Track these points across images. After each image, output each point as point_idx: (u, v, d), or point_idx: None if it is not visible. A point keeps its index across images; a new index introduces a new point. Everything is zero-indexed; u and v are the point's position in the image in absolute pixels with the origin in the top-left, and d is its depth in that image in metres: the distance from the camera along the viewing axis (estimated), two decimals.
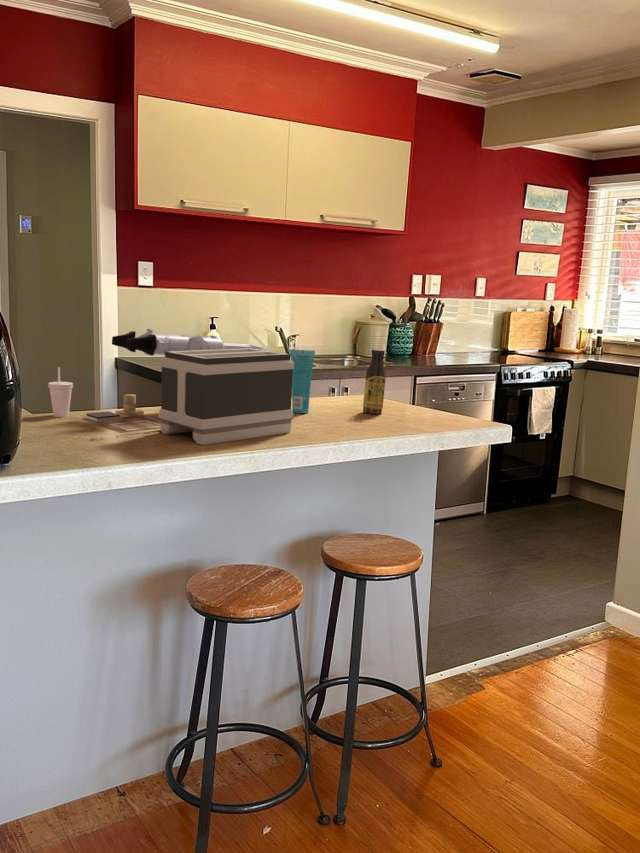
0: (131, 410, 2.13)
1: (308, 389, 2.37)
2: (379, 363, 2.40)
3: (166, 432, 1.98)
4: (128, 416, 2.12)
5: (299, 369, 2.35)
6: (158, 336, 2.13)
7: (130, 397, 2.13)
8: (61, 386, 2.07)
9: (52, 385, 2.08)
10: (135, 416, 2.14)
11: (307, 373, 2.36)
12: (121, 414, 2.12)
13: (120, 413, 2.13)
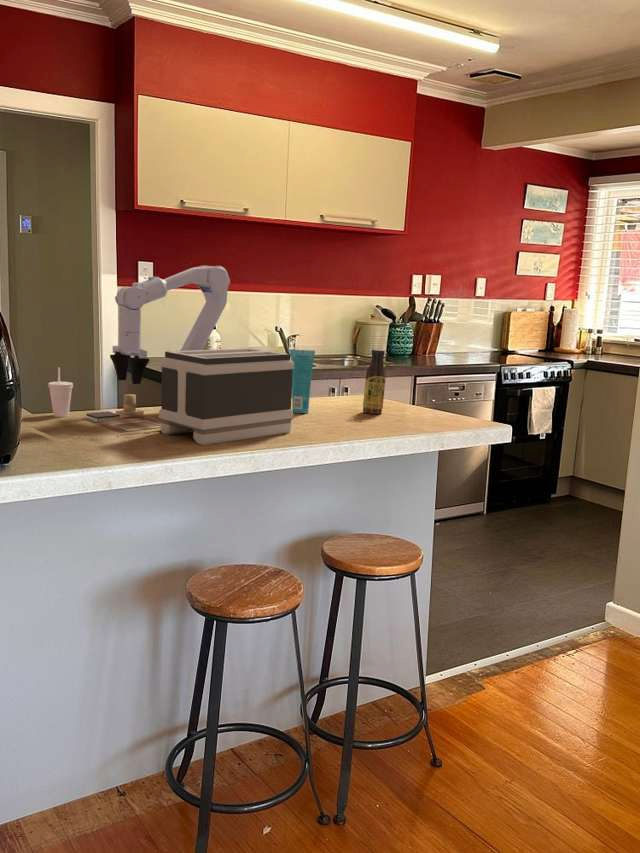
0: (131, 410, 2.13)
1: (308, 389, 2.37)
2: (379, 363, 2.40)
3: (166, 432, 1.98)
4: (128, 416, 2.12)
5: (299, 369, 2.35)
6: (125, 344, 2.09)
7: (130, 397, 2.13)
8: (61, 386, 2.07)
9: (52, 385, 2.07)
10: (135, 416, 2.14)
11: (307, 373, 2.36)
12: (121, 414, 2.12)
13: (120, 413, 2.13)
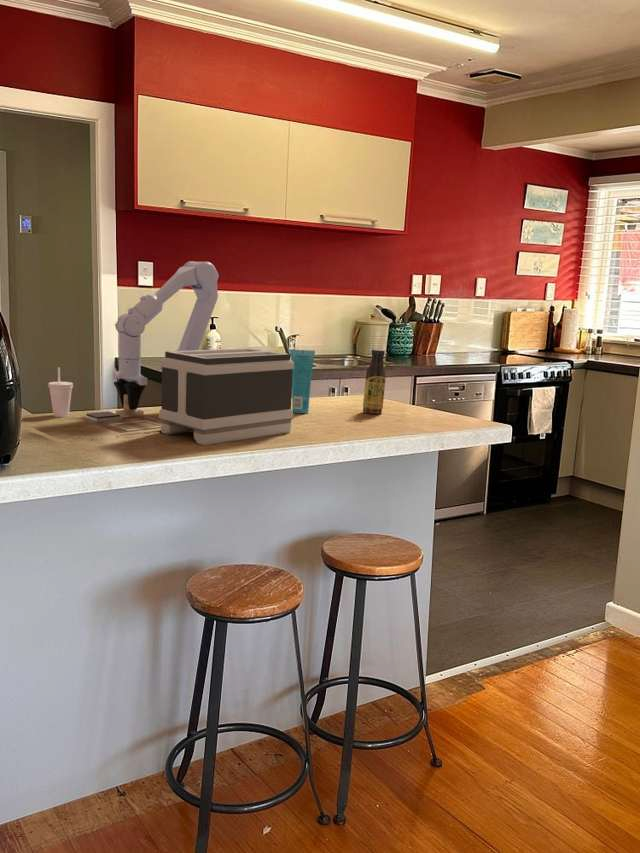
0: (131, 410, 2.13)
1: (308, 389, 2.37)
2: (379, 363, 2.40)
3: (166, 432, 1.98)
4: (128, 416, 2.12)
5: (299, 369, 2.35)
6: (126, 371, 2.10)
7: None
8: (61, 386, 2.07)
9: (52, 385, 2.07)
10: (135, 416, 2.14)
11: (307, 373, 2.36)
12: (121, 414, 2.12)
13: (120, 413, 2.13)
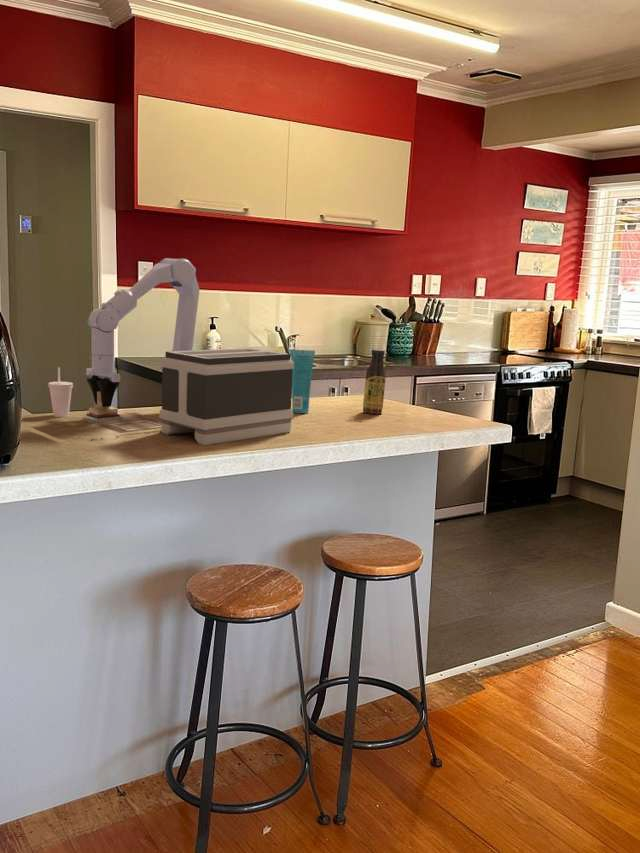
0: (105, 407, 2.08)
1: (308, 389, 2.37)
2: (379, 363, 2.40)
3: (167, 432, 1.97)
4: (102, 414, 2.07)
5: (299, 369, 2.35)
6: (98, 367, 2.04)
7: None
8: (61, 386, 2.07)
9: (52, 385, 2.07)
10: (109, 413, 2.08)
11: (307, 373, 2.36)
12: (94, 411, 2.07)
13: (93, 410, 2.07)
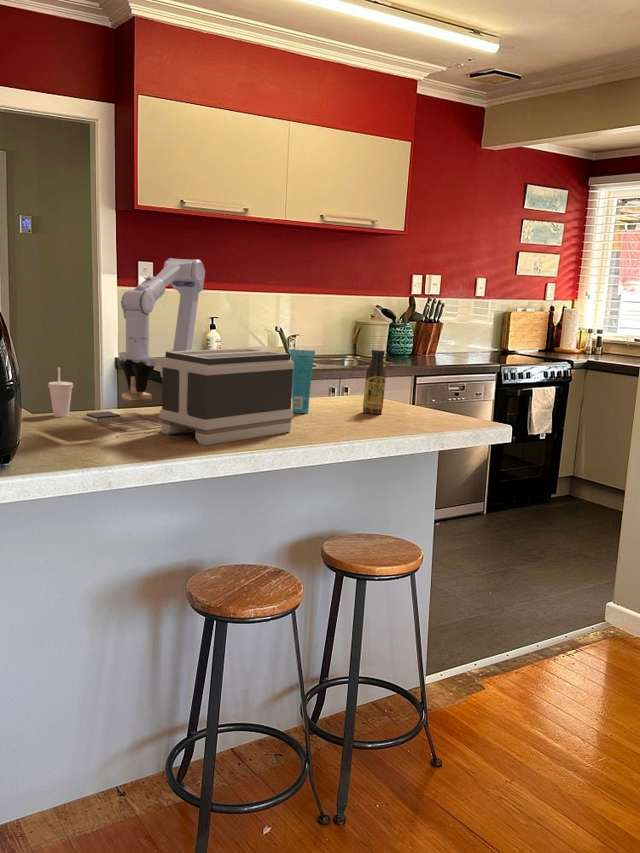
0: (138, 393, 2.00)
1: (308, 389, 2.37)
2: (379, 363, 2.40)
3: (167, 432, 1.97)
4: (135, 399, 1.99)
5: (299, 369, 2.35)
6: (133, 350, 1.97)
7: None
8: (61, 386, 2.07)
9: (52, 385, 2.07)
10: (143, 399, 2.01)
11: (307, 373, 2.36)
12: (128, 397, 1.99)
13: (127, 396, 2.00)
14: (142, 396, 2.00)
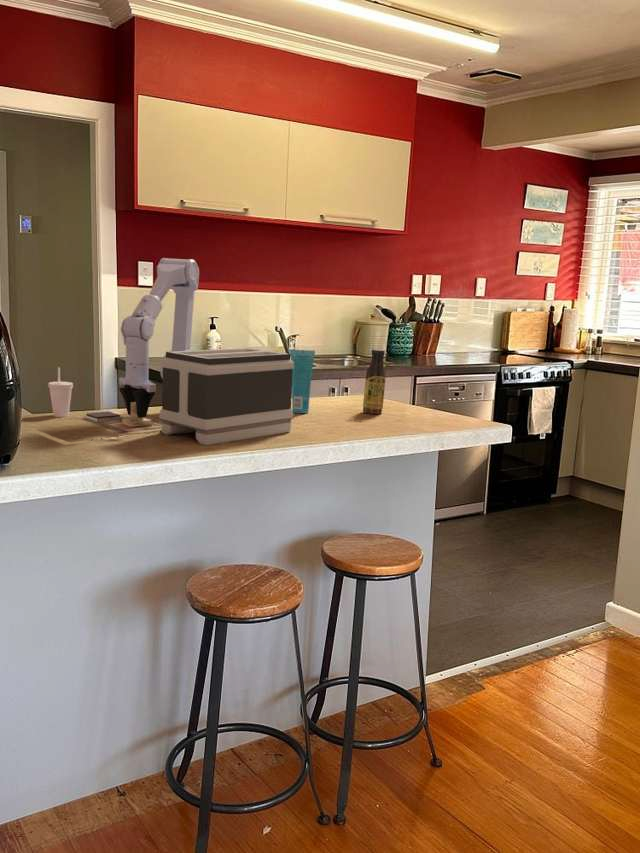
0: (138, 419, 2.02)
1: (308, 389, 2.37)
2: (379, 363, 2.40)
3: (167, 433, 1.97)
4: (135, 425, 2.01)
5: (299, 369, 2.35)
6: (133, 376, 1.98)
7: None
8: (61, 386, 2.07)
9: (52, 385, 2.07)
10: (143, 425, 2.02)
11: (307, 373, 2.36)
12: (128, 423, 2.01)
13: (127, 422, 2.01)
14: (142, 422, 2.02)
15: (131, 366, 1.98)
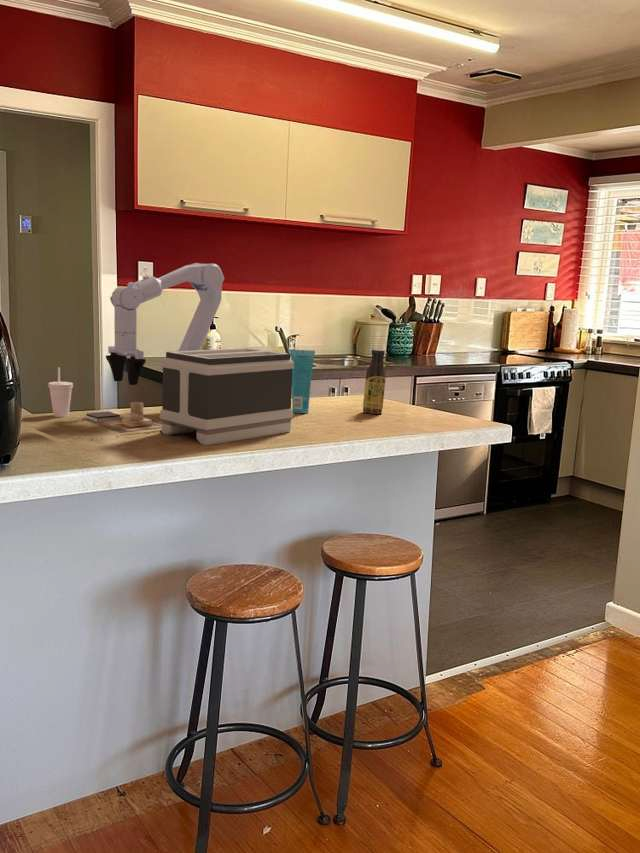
0: (138, 419, 2.02)
1: (308, 389, 2.37)
2: (379, 363, 2.40)
3: (168, 433, 1.97)
4: (135, 425, 2.01)
5: (299, 369, 2.35)
6: (121, 344, 2.07)
7: (137, 405, 2.01)
8: (61, 386, 2.07)
9: (52, 385, 2.07)
10: (143, 425, 2.02)
11: (307, 373, 2.36)
12: (128, 423, 2.01)
13: (127, 422, 2.01)
14: (142, 422, 2.02)
15: (120, 334, 2.06)
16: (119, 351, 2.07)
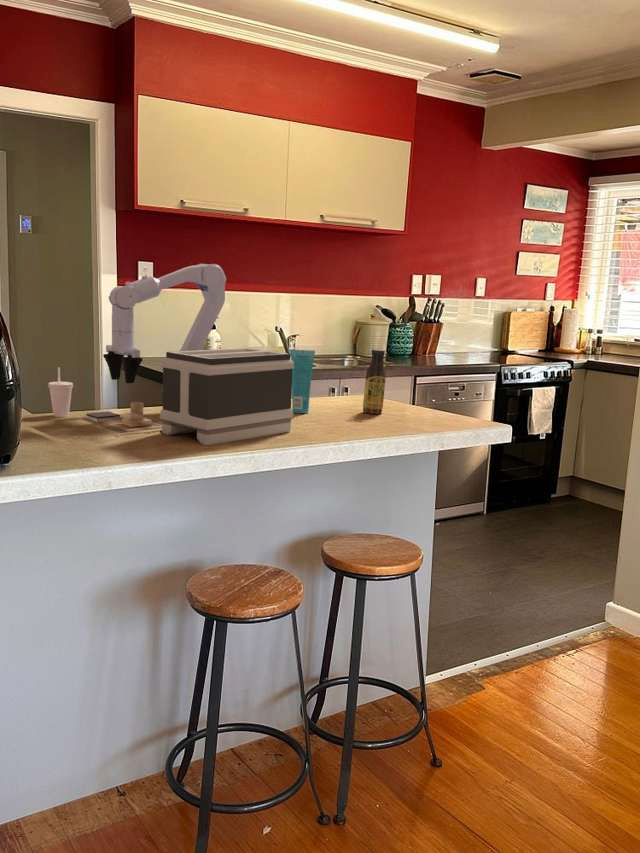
0: (138, 419, 2.02)
1: (308, 389, 2.37)
2: (379, 363, 2.40)
3: (168, 433, 1.97)
4: (135, 425, 2.01)
5: (299, 369, 2.35)
6: (118, 343, 2.09)
7: (137, 405, 2.01)
8: (61, 386, 2.07)
9: (52, 385, 2.07)
10: (143, 425, 2.02)
11: (307, 373, 2.36)
12: (128, 423, 2.01)
13: (127, 422, 2.01)
14: (142, 422, 2.02)
15: (117, 333, 2.09)
16: (116, 350, 2.10)
